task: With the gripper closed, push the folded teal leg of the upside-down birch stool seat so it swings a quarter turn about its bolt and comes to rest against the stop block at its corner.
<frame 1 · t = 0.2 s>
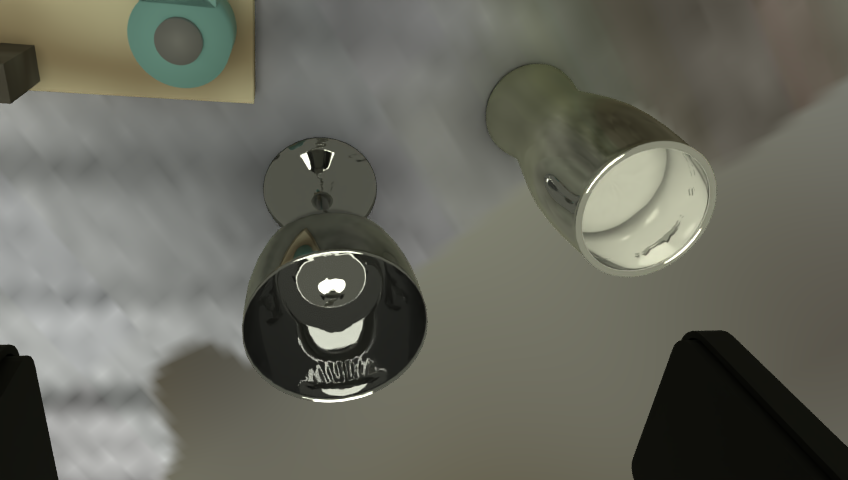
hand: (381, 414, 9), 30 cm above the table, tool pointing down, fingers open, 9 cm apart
silver goblet: (320, 189, 40), on the table
beer glass: (529, 110, 40), on the table
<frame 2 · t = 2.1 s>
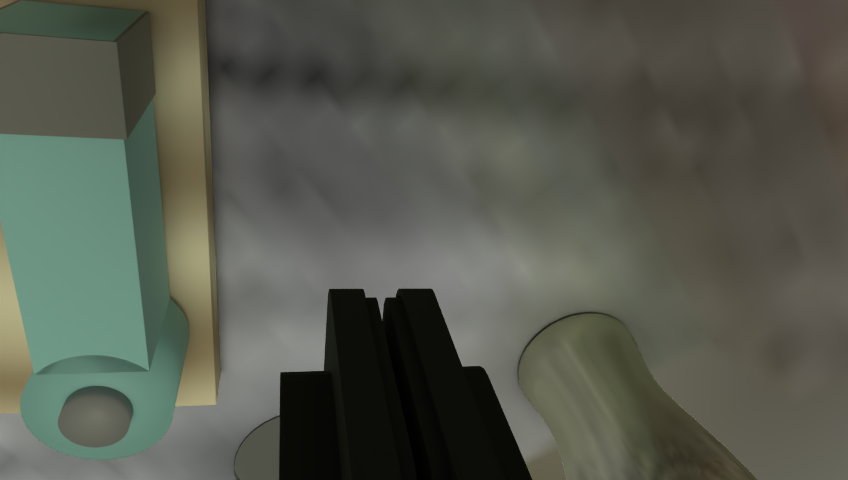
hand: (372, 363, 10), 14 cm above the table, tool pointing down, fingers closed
silver goblet: (307, 459, 32), on the table
leg: (94, 255, 19), point 5 cm above the table, hinge at 0.0°
beer glass: (573, 358, 32), on the table
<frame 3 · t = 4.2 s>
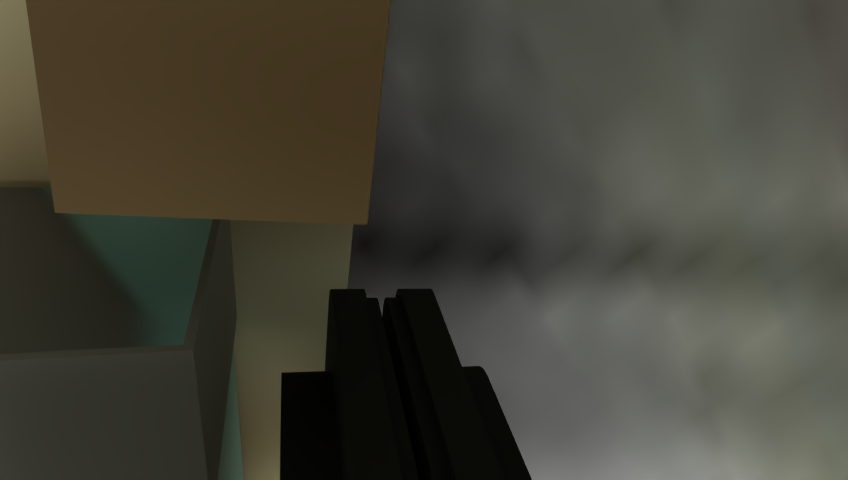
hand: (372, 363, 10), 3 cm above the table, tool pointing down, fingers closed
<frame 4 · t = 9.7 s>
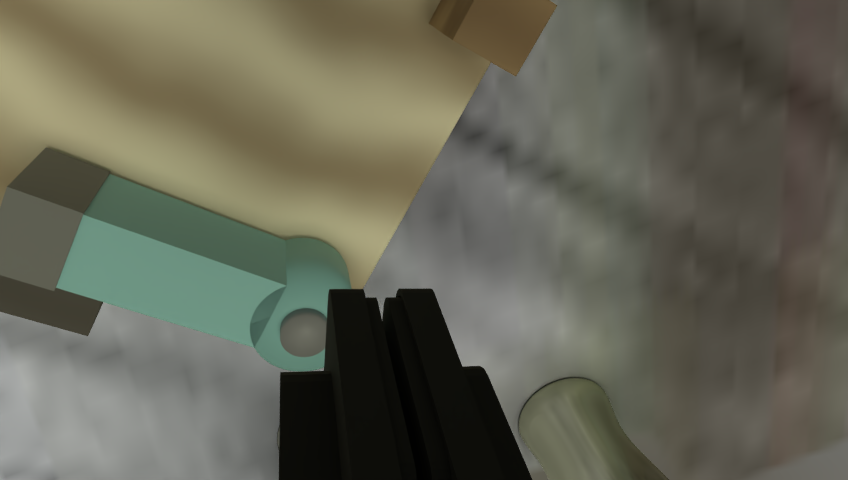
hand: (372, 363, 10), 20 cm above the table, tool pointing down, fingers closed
leg: (197, 270, 26), point 5 cm above the table, hinge at 90.0°
beer glass: (561, 412, 41), on the table
seat: (206, 86, 27), on the table
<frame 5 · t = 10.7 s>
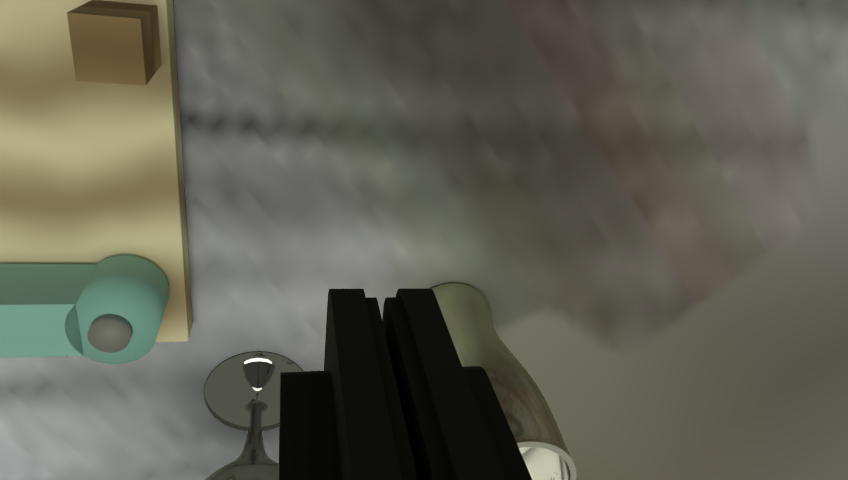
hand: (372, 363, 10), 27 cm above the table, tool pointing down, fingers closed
silver goblet: (257, 390, 44), on the table
leg: (23, 312, 33), point 5 cm above the table, hinge at 90.0°
beer glass: (447, 317, 44), on the table
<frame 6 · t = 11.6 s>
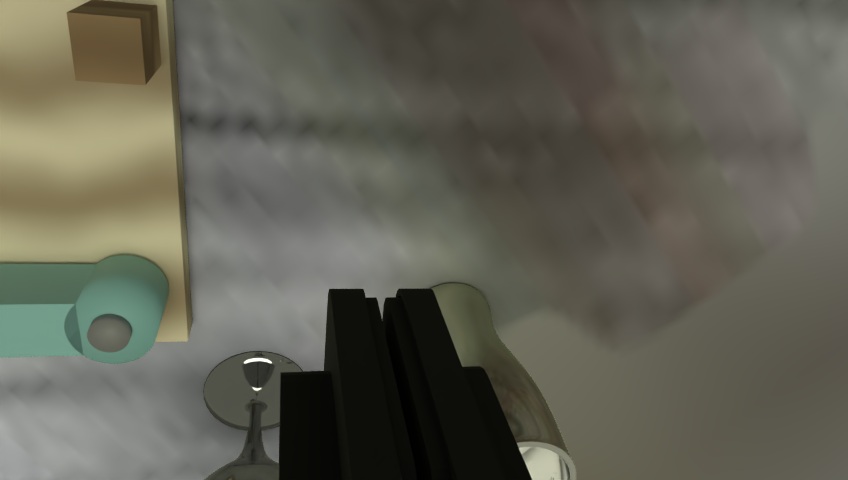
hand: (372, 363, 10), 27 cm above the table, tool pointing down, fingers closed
silver goblet: (257, 390, 44), on the table
leg: (22, 312, 33), point 5 cm above the table, hinge at 90.0°
beer glass: (446, 317, 44), on the table
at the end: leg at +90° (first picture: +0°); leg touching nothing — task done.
